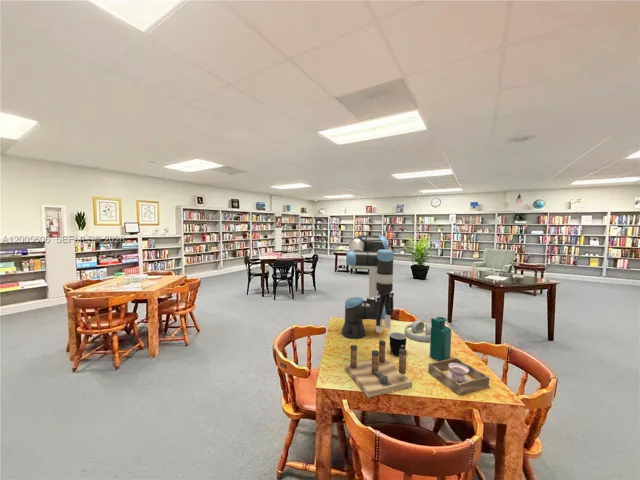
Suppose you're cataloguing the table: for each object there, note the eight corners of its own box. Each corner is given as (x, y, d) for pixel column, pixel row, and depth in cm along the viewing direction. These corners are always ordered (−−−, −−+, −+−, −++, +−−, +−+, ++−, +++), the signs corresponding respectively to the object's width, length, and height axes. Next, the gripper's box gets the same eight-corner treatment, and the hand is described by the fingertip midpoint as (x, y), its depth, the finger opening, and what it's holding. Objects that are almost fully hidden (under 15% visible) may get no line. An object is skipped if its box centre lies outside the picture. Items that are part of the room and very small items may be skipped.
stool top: (345, 369, 127) (345, 344, 126) (383, 361, 134) (384, 338, 133) (367, 397, 106) (368, 368, 105) (411, 387, 113) (412, 359, 113)
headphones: (412, 326, 181) (400, 339, 166) (412, 315, 179) (400, 328, 165) (440, 333, 169) (430, 348, 154) (440, 322, 168) (430, 336, 153)
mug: (400, 359, 137) (401, 340, 137) (386, 353, 143) (386, 335, 143) (411, 351, 146) (412, 334, 145) (396, 346, 152) (397, 329, 151)
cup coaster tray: (428, 372, 125) (428, 363, 125) (455, 366, 131) (456, 357, 131) (458, 395, 108) (459, 384, 108) (488, 386, 114) (489, 377, 114)
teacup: (477, 383, 117) (478, 370, 117) (463, 392, 111) (464, 378, 110) (452, 370, 127) (452, 358, 127) (437, 378, 121) (438, 365, 120)
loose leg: (396, 370, 116) (397, 349, 115) (402, 369, 117) (403, 348, 116) (401, 374, 113) (402, 352, 112) (407, 373, 114) (408, 351, 113)
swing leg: (370, 370, 121) (370, 350, 120) (375, 369, 122) (376, 349, 121) (383, 384, 110) (383, 362, 110) (389, 383, 112) (390, 361, 111)
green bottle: (437, 352, 145) (438, 313, 144) (451, 358, 138) (453, 318, 137) (426, 357, 140) (428, 317, 138) (441, 364, 133) (443, 322, 131)
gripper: (388, 278, 132) (387, 322, 133) (365, 284, 118) (364, 333, 120) (402, 280, 126) (400, 326, 127) (379, 287, 113) (378, 338, 114)
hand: (383, 329), depth 123 cm, fingers open, 6 cm apart
